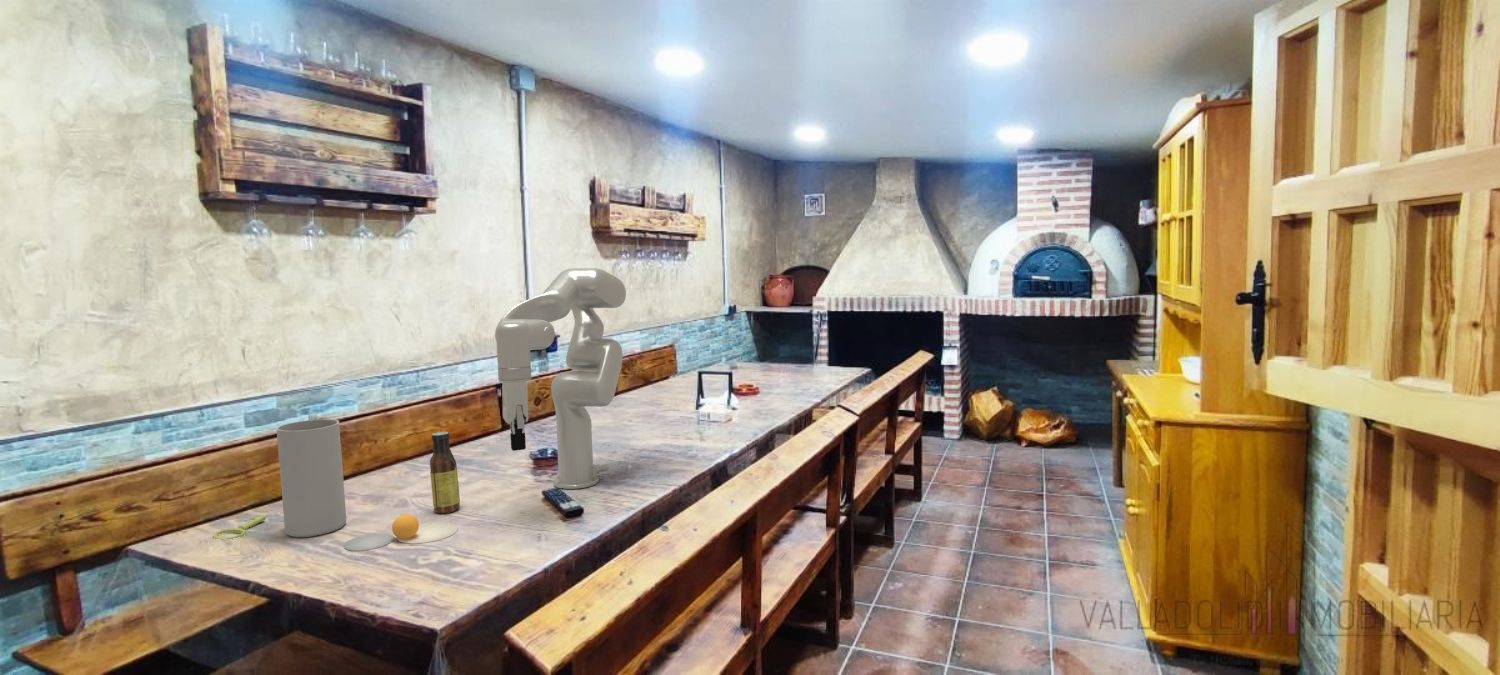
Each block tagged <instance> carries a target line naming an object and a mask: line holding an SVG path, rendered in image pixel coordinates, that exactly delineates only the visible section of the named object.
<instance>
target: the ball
mask: <svg viewBox="0 0 1500 675" xmlns="http://www.w3.org/2000/svg"><path fill="white" fill-rule="evenodd" d="M419 525H420V523H419V520H418V519H417V517H415V516H414V515H412V514H410V513H409V514H407V513H406V514H401V515H400V516H399V515H398V516H397V517H396V518H395V520H394V521H393V523H392V527H391V530H392V535H393V536H394V537H396V539H397V538H399V539H409V538H411V537H413V536H414V535H415V534H416V533H417V531H418V528H419Z"/></svg>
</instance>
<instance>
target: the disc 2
mask: <svg viewBox="0 0 1500 675" xmlns="http://www.w3.org/2000/svg"><path fill="white" fill-rule="evenodd" d="M458 530H459V527H458V525H457V524H456V523H452V522H446V521H445V522H444V521H443V522H442V521H437V522H434V521H433V522H425V523H421V524H419V528H418V531H417V533H416V534H415V535H414V536H413V537H411V538H409V539H399V538H397V537H396V540H397V541H399V542H401V543H403V544H412V545H414V544H415V545H417V544H426V543H427V544H428V543H433V542H434V543H435V542H437V541H441V540H443V539H444V540H445V539H447V538H450V537H451V536H453V535H455V534H456V533H457V532H458Z"/></svg>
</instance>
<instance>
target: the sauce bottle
mask: <svg viewBox="0 0 1500 675" xmlns="http://www.w3.org/2000/svg"><path fill="white" fill-rule="evenodd" d="M449 440H450V433H449V432H448V431H438V432H433V433H431V441H432V444H433V445H432V446H433V453H432V456H431V458H430V460H429V467H430V483H431V493H432V495H431V496H432V504H433V510H434V512H435V513H437V514H450V513H453V512H455V511H458V510H459V509H460V508H461V505H460V503H461V499H460V488H459V476H458V466H457V462H456V459H455V457H454V455H453V452H452V449H451V447H450V441H449Z"/></svg>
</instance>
